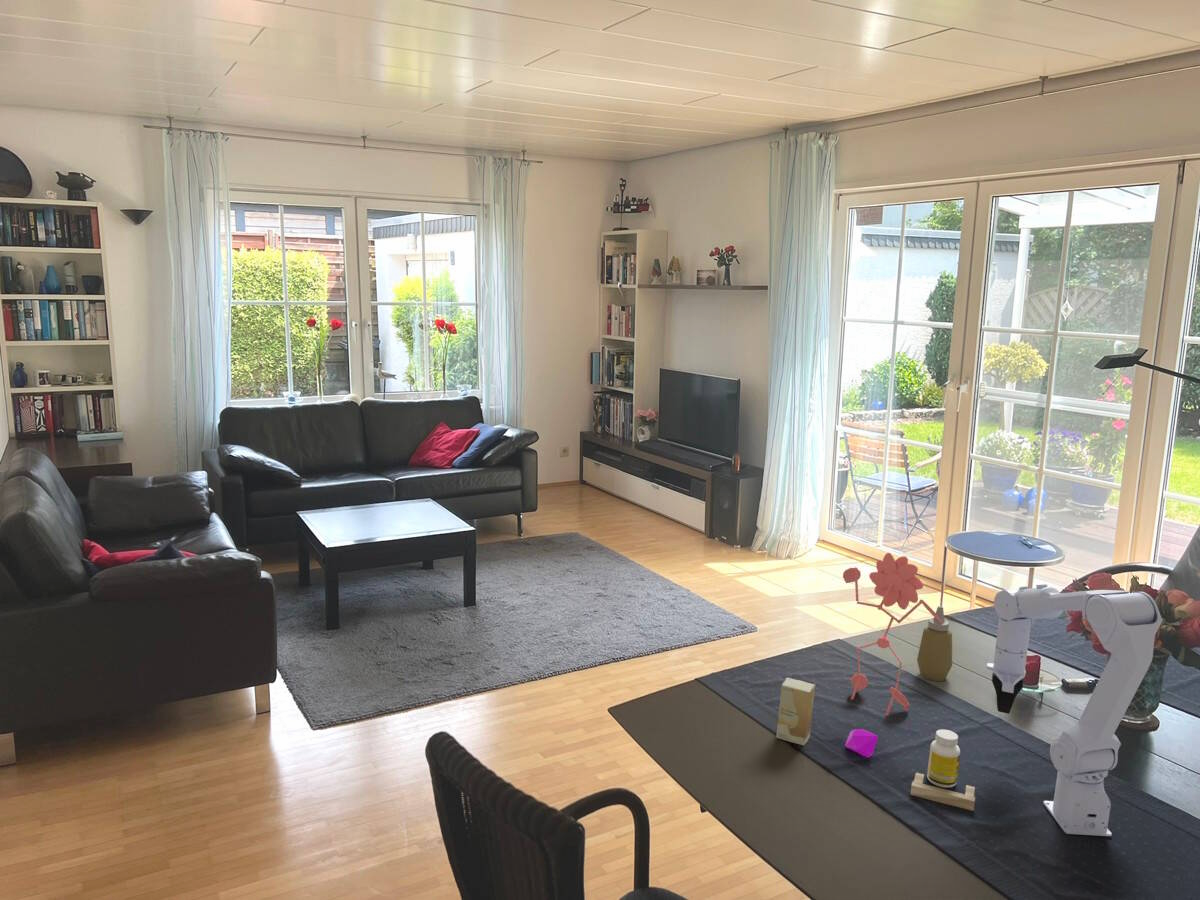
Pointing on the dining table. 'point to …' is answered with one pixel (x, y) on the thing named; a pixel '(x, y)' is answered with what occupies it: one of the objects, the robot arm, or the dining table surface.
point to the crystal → (861, 742)
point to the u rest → (943, 794)
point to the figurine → (894, 586)
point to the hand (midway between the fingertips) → (1003, 711)
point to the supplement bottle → (944, 759)
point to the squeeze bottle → (935, 649)
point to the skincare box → (795, 711)
